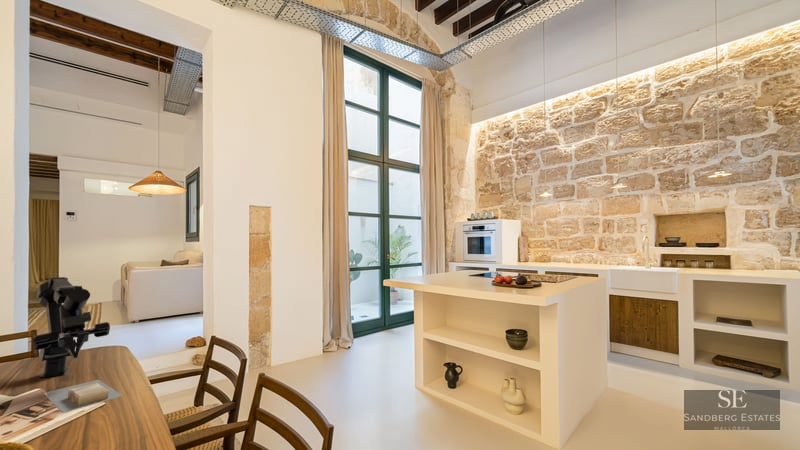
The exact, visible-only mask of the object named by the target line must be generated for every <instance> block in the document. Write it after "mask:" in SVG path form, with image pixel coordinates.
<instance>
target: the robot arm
mask: <svg viewBox="0 0 800 450" xmlns="http://www.w3.org/2000/svg"><path fill="white" fill-rule="evenodd" d="M90 296H91V293H90V291H89V290H88V289H85V288H83V287H82V285H73V284H72V283H71V282H70V281H69V279H68V277H66V276H62V277H60V276H58V277H57V276H56V277H51V278H49V279H48V280H47V281H45V282H44V283H42V284H40V285H39V287H38V288H37V291H36V299H38V302H39V303H38V304H39V305H41V306H43V307H44V308H45V309H46V319H47V327H48V332H47V333H40V334H36V335H34V336H33V339H32V340H33V351H39V350H40V351H39V354H38V357H39V358H38V359H39V360H40V361H41V362H43V361H44V367H43V368H44V369H43V373H42V374H40V375H39V379H40V378H42V379H43V378H49V377H58V376H64V375H65V374H66V373H68V371H69V369H70V368H67V360H68V357H72V358H73V359H78V358H79V354H80V352H81V349H82V347H83V345H84V343H86V342H88V341H89V337H90V336H89V335H93V336H94V337H96V338H100V337H105V336H106V337H107V336H108V335H110V330H111V326H110V322H108V321H105V322H99V323H95V324H94V326H93V328H92V327H91V328H87V329H85V328H86V323H87V322H91V321H92V316H91V315H92V314H91V311H87V312H86V311H85V312H83V308H85V306H86V304H87V302H88V301H89V299H90ZM74 338H76V339H74Z"/></svg>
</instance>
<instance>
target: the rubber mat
mask: <svg viewBox="0 0 800 450" xmlns="http://www.w3.org/2000/svg"><path fill="white" fill-rule="evenodd" d="M95 383H99V384H100V385H102V386H103V387H104V388H106V389H107V390H109V393H108V399H104V400H101V401H97V402H94V403H90V404H87V405H83V406H80V407H78V406H77V405H75V404H74V403H73V402H72V401H71V400H70V399H68V392H69V390H70V389H74V388H78V387H82V386H86V385H91V384H95ZM46 393H47V396H45V398H47V399H48V400H49V401H50V402H51V403H52V405H54V406H55V407H56V408H57V409H59V411H60V412H61V413H62V414H64V413H68V412H72V411H75V410H78V409H82V408H85V407H89V406H93V405H96V404H99V403H102V402H106V401H110V400H114V399H117V398H121V397H123V396H124V395H123V394H121V393H120V392H118V391H117V390H116V389H114V388H112V387H110V386H109V385H108V384H106V383H105V382H103V381H102V380H100V379H95V380H91V381H87V382H83V383H79V384H75V385H71V386H67V387H63V388H57V389H54V390H50V391H46Z"/></svg>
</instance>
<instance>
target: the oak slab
mask: <svg viewBox="0 0 800 450" xmlns="http://www.w3.org/2000/svg"><path fill="white" fill-rule="evenodd" d="M108 393H109V390H107V389H106V388H104V387H103V386H102V385H100V384H99V383H95V384H91V385H86V386H82V387H78V388H74V389H70V390H69V392H68V399H70V400H71V401H72V402H73V403H74V404H75V405H77V406H78V407H80V406H83V405H87V404H90V403H94V402H97V401H101V400H104V399H108Z"/></svg>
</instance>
